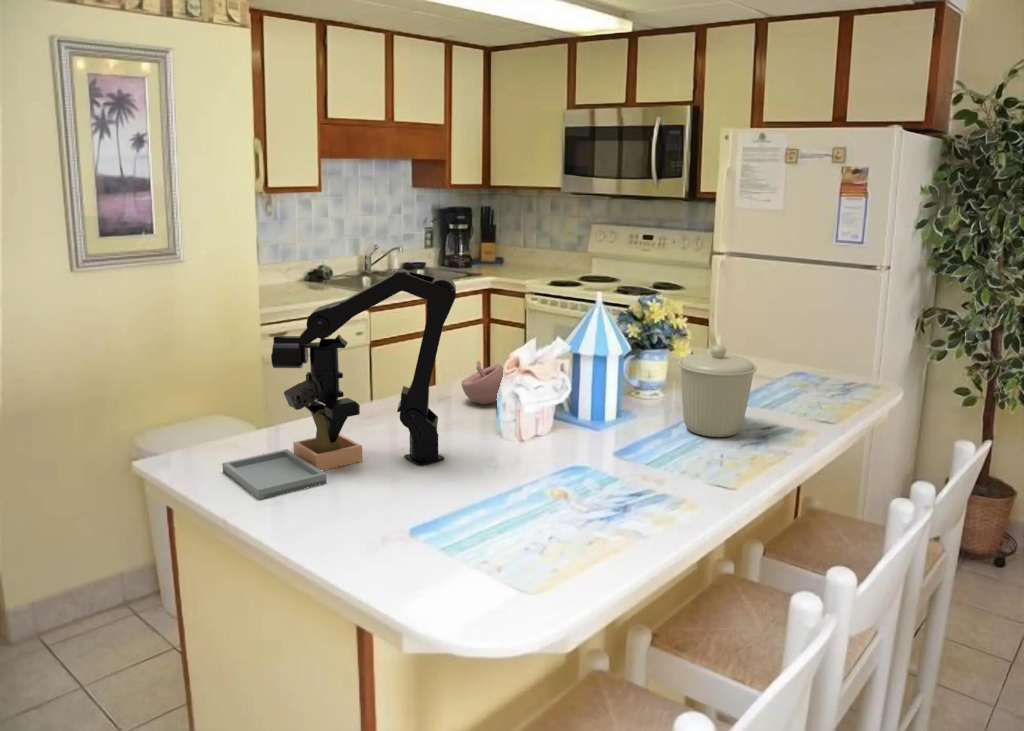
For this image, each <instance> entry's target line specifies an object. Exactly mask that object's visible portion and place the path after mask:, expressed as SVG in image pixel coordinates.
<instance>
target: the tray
mask: <svg viewBox="0 0 1024 731" xmlns="http://www.w3.org/2000/svg"><path fill="white" fill-rule="evenodd" d="M221 465H222V473H223V474H225V475H226V476H227V477H229V478H230V479H231V480H233V481H234V482H235V483H236V484H238V486H240V487H242V489H243V490H245V491H247V492H248V493H249V494H250V495H251V496H253V498H256V499H257V500H258V501H260V500H261V501H262V500H264V499H270V498H272V496H273V497H276V495H277V496H281V495H280V494H282V495H284V494H283V493H286V494H288V493H287V492H290V493H292V492H291V491H294V492H297V491H296V490H298V491H301V490H300V489H302V490H305V489H304V488H306V489H308V488H307V487H310V488H312V487H311V486H314V487H316V486H315V485H318V486H320V485H319V484H322V485H324V484H323V483H326V484H327V479H328V478H327V473H326V472H325V471H321V470H319V469H318V468H316V467H315V466H313V465H311V464H310V463H308V462H307V461H305V460H303V459H302V458H300V457H299V456H297V455H295V454H294V452H292V451H291V450H289V449H280V450H276V451H272V452H267V453H263V454H258V455H254V456H249V457H245V458H240V459H235V460H231V461H225V462H222V463H221Z"/></svg>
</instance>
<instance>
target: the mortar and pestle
mask: <svg viewBox="0 0 1024 731" xmlns="http://www.w3.org/2000/svg"><path fill="white" fill-rule="evenodd" d="M475 367H476V370H477V372H474V373H473V374H471V375H469V376H468V377H466V378H464V379H463V380H461V387H462V391H463V393H464V394H465V395H466V397H467V398H468V399H469V401H470V400H471V401H472V402H473V403H476V404H480V405H489V404H493V403H495V402H497V401H496V399H497V393H498V390H499V387H500V383H501V380H502V377H503V369H504V367H503V366H502V365H501V363H496V364H492V365H491V366H487V367H486V368H483V369H482V366H481V361H480V360H477V361H476V366H475Z"/></svg>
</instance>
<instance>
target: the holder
mask: <svg viewBox="0 0 1024 731" xmlns="http://www.w3.org/2000/svg"><path fill="white" fill-rule="evenodd" d="M338 436H339V442H340V447H341V449H339V450H334V451H330V452H325V453H321V454H317V453H315V442H316V437H312V438H308V439H303V440H299V441H293V453H294V454H295V455H297V456H299V457H300V458H302V459H303V460H305V461H307V462H308V463H310V464H311V465H313V466H315V467H316V468H318V469H319V470H324V471H327V470H326V469H328V470H332V469H335V467H336V468H339V467H338V466H341V467H343V466H342V465H345V466H348V465H347V464H349V465H352V464H351V463H353V464H356V462H357V463H360V462H359V461H362V462H363V445H362V444H360V443H358V442H356V441H354V440H353V439H350V438H348V437H347V436H345V435H343V434H341V433H339V435H338ZM331 468H332V469H331Z"/></svg>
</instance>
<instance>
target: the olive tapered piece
mask: <svg viewBox="0 0 1024 731" xmlns="http://www.w3.org/2000/svg"><path fill="white" fill-rule="evenodd" d="M322 413H325V409H321V410H318V411H317V412H316V413H315V415H314V419H313V422H314V424H316V425H317V428H316V432H315V433H316V434H315V438H316V442H315V453H317V454H321V453H325V452H330V451H334V450H339V449H341V447H340V442H339V436H338V438H337V440H336V442H334V443H331V442H330V439H329V434H328V428H327V422H326V419H324V418H323V417H322V416H321V415H320V414H322ZM316 425H315V426H316Z"/></svg>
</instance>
